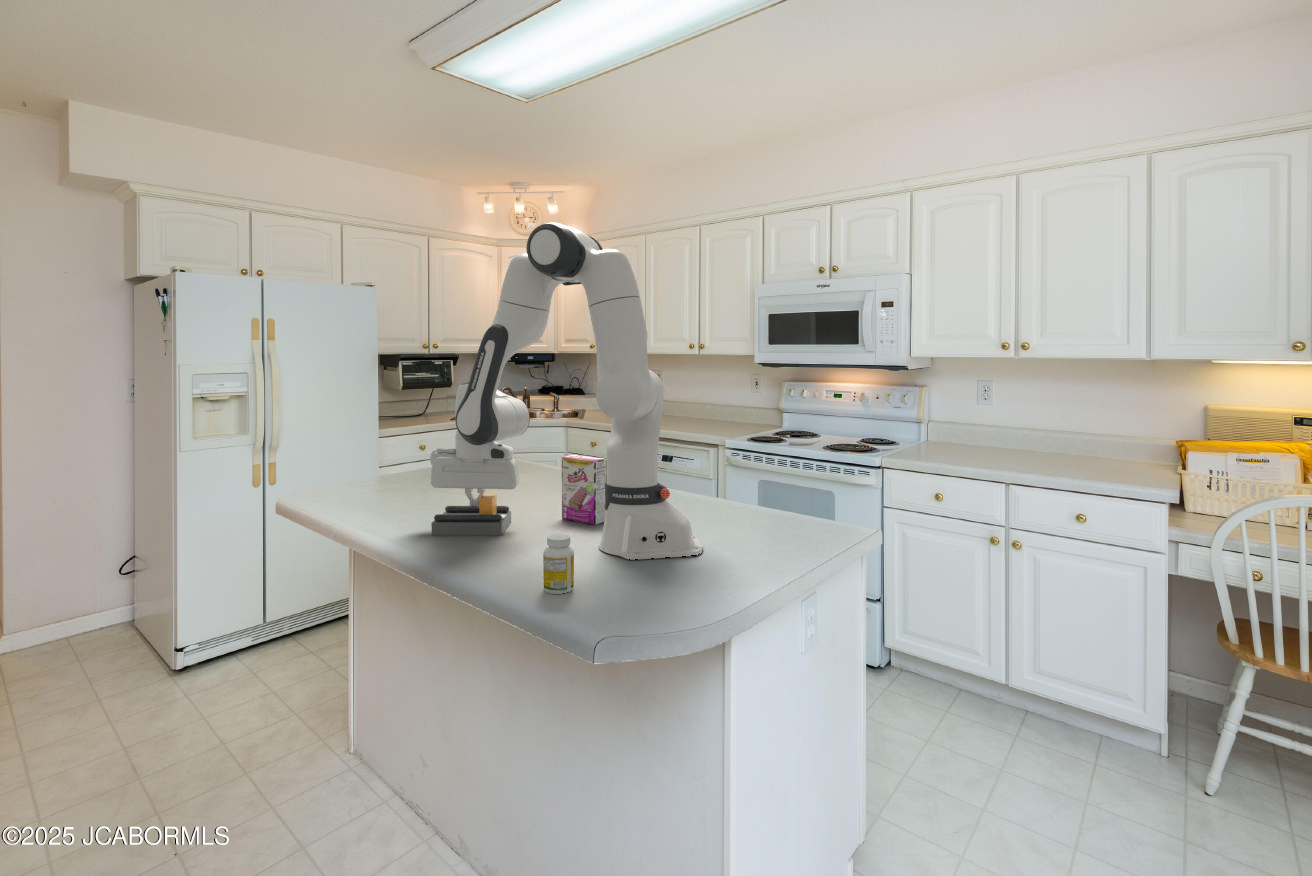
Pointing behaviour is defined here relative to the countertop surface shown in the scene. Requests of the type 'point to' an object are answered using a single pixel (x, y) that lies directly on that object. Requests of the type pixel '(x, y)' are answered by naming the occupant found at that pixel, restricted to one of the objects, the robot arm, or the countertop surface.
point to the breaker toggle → (488, 504)
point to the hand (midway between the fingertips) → (475, 506)
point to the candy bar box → (583, 489)
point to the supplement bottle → (558, 565)
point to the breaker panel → (470, 522)
